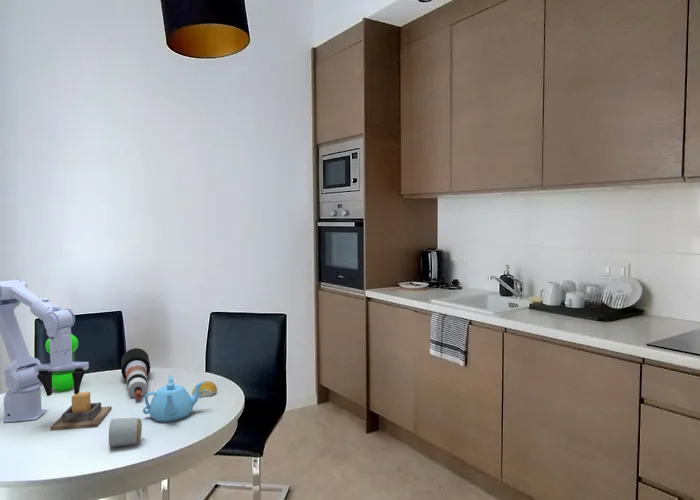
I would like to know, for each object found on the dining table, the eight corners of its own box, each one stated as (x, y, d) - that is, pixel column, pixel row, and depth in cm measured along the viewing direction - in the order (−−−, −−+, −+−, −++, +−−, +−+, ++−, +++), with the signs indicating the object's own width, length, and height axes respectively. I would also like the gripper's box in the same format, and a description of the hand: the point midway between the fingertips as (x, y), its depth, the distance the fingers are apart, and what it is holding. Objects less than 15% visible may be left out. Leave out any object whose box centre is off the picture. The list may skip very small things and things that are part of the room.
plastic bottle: (50, 386, 187) (46, 320, 185) (81, 382, 191) (78, 318, 189) (45, 395, 178) (41, 326, 176) (79, 391, 182) (75, 323, 180)
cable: (132, 416, 169) (116, 393, 166) (129, 377, 200) (116, 357, 196) (160, 399, 172) (144, 376, 169) (153, 363, 203) (140, 343, 199)
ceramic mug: (140, 447, 136) (139, 420, 136) (108, 452, 133) (107, 424, 133) (143, 433, 146) (142, 408, 145) (113, 436, 143) (112, 411, 143)
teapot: (136, 419, 155) (134, 387, 154) (173, 403, 168) (172, 373, 168) (170, 428, 148) (168, 394, 148) (206, 410, 162) (205, 379, 161)
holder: (50, 430, 148) (49, 418, 148) (68, 412, 162) (68, 401, 161) (97, 426, 150) (96, 415, 150) (111, 409, 164) (111, 398, 163)
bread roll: (216, 388, 183) (216, 377, 183) (216, 396, 175) (215, 385, 174) (193, 390, 181) (193, 379, 181) (191, 399, 173) (191, 387, 172)
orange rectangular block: (72, 419, 153) (71, 397, 153) (77, 414, 157) (76, 392, 157) (86, 418, 154) (85, 396, 153) (91, 413, 158) (90, 391, 157)
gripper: (28, 354, 145) (31, 400, 146) (82, 351, 148) (84, 396, 149) (39, 348, 152) (41, 392, 153) (90, 346, 155) (92, 388, 156)
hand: (63, 394), depth 151 cm, fingers open, 7 cm apart
